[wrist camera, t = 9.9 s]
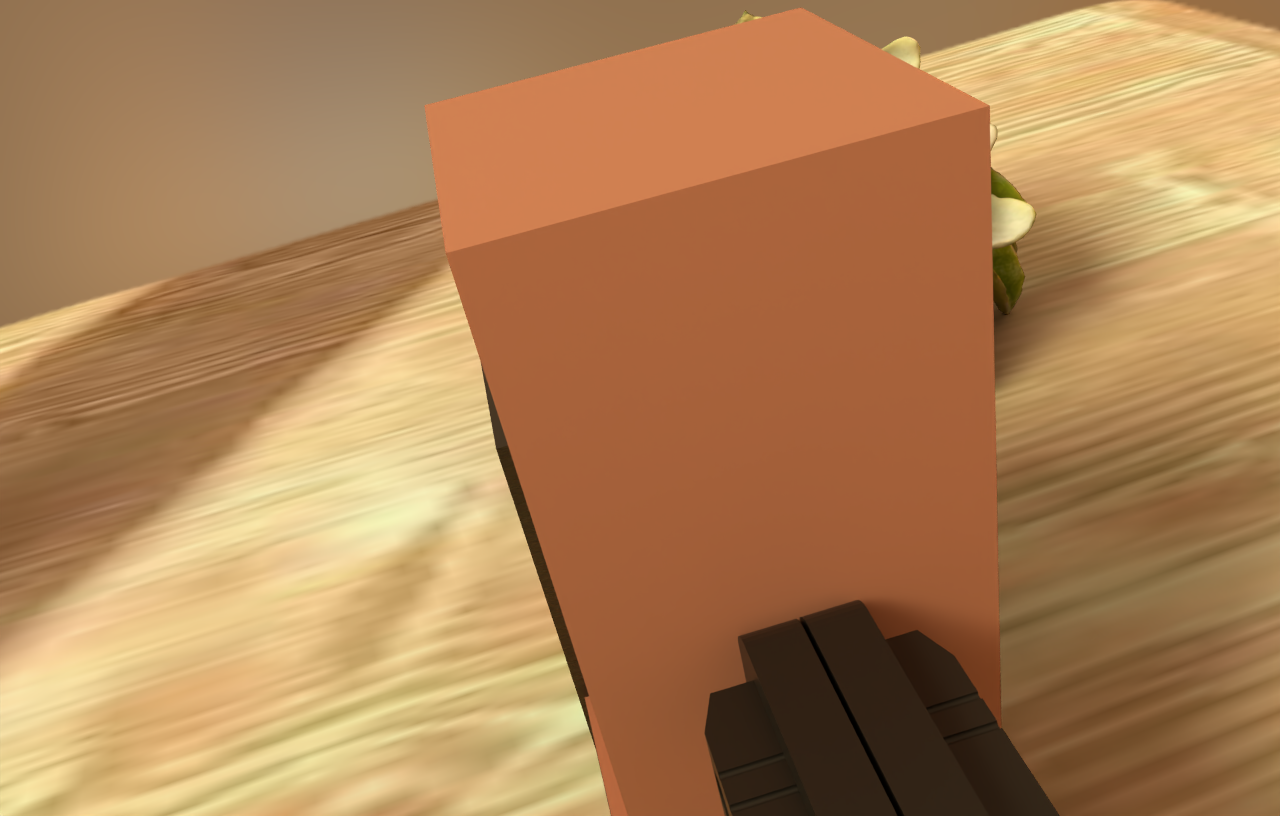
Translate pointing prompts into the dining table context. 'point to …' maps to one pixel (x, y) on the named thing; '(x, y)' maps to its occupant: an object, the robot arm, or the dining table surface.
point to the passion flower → (1006, 203)
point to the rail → (537, 554)
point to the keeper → (734, 360)
